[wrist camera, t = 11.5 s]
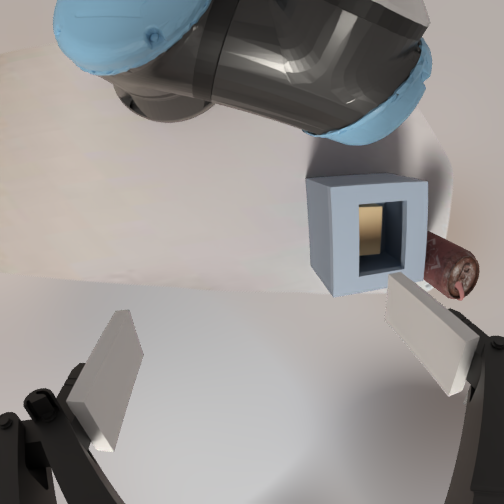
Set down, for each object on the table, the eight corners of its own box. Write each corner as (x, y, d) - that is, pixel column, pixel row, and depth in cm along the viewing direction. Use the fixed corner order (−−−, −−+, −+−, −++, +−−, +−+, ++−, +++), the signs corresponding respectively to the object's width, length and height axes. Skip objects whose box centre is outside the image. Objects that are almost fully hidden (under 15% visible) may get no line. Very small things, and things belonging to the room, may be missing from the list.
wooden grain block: (338, 200, 40) (352, 207, 36) (365, 199, 41) (382, 206, 36) (337, 244, 42) (351, 256, 38) (364, 242, 43) (379, 253, 38)
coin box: (305, 178, 40) (330, 187, 30) (387, 172, 40) (428, 181, 31) (310, 265, 44) (333, 297, 34) (387, 254, 44) (423, 280, 35)
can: (395, 270, 45) (447, 312, 32) (387, 232, 43) (443, 266, 30) (426, 255, 45) (482, 290, 32) (419, 218, 43) (480, 245, 30)
